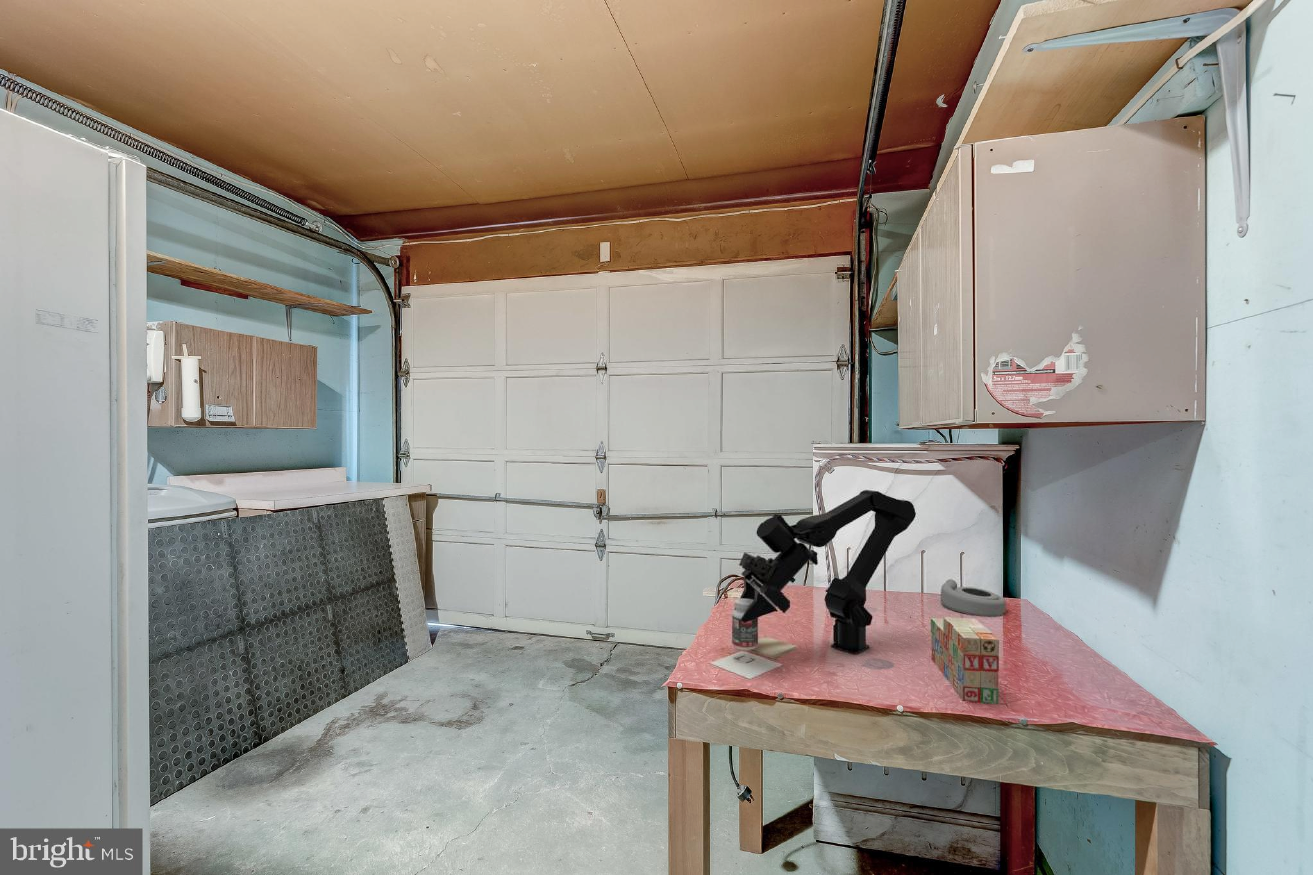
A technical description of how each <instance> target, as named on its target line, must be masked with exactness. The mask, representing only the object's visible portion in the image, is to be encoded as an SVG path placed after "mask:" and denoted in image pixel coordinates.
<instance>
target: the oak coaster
mask: <svg viewBox="0 0 1313 875" xmlns="http://www.w3.org/2000/svg"><path fill="white" fill-rule="evenodd" d="M795 650H797V645H793V644H790V643H787V642H784V641H782V640H778V639H776V638H775V639H774V638H771V637H768V636H762V637H761V638H758V646H757V647H756V648H754V649H750V650H748V651H750V652H753V653H755V654H758V655H761V656H764V657H767V658H771V659H777V658H778V657H781V656H783V655H785V654H787V653H790V652H793V651H795Z"/></svg>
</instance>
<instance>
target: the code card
mask: <svg viewBox="0 0 1313 875" xmlns="http://www.w3.org/2000/svg"><path fill="white" fill-rule="evenodd" d="M709 664H710V665H712V666H715V667H717V668H721V669H723V670H725V671H728V672H731V673H733V674H734V675H738V676H741V677H742V678H746V679H748V680H751V679H753V678H756V677H758V676H760V675H763V674H765V673H767V672H770V671H772V670H774V669H776V668H779V667H781V666H782V665H783V664H782V663H778V662H777V661H773V660H770V659H767V658H764V657H762V656H759V655H756V654H754V653H751V652H747V651H745V650H741V651H739V652H736V653H733V654H731V655H728V656H725V657H722V658H720V659H717V660H715V661H712V662H710V663H709Z"/></svg>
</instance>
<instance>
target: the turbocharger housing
mask: <svg viewBox="0 0 1313 875" xmlns="http://www.w3.org/2000/svg"><path fill="white" fill-rule="evenodd" d="M939 599H940V603H941V604H942V606H944V607H945V608H947V609H948V610H951V611H953V610H954V611H955V612H956V611H958V612H957V613H960V612H961V613H960V614H964V613H966V614H965V615H969V614H970V615H969V616H975V615H979V616H978V617H999V616H998V615H1000V616H1002V615H1004V614H1005V612H1006V608H1007V600H1006V599H1005V597H1003V596H1001V595H999V594H997V593H995V592H993V591H989V590H987V589H983V588H979V587H972V586H960V587H958V583H957V582H956V580H954V579H952V578H950V579H947V580H946V581H945V582H944V583H943V584H942V586H941V589H940V598H939Z"/></svg>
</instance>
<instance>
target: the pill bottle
mask: <svg viewBox="0 0 1313 875" xmlns="http://www.w3.org/2000/svg"><path fill="white" fill-rule="evenodd" d="M753 601H754V600H752V599H740V598H737V599H735V600H734V605H733V606H734V609H735V608H736V609H735V610H734V609H733V611H732V613H731V641H732V643H731V644H732V647H734V648H735V649H739V650H742V651H745V650H746V651H749V650H750V649H754V648H756V647H757V646H758V639H759V617H758V618H755V619H753V620H750V621H748V622H745V623H744V622H743V621H742V620H741V618H742V616H743V615H744V613H745V612H746V610H747V609H748V608H749V606H750V605H751V603H752V602H753Z"/></svg>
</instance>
